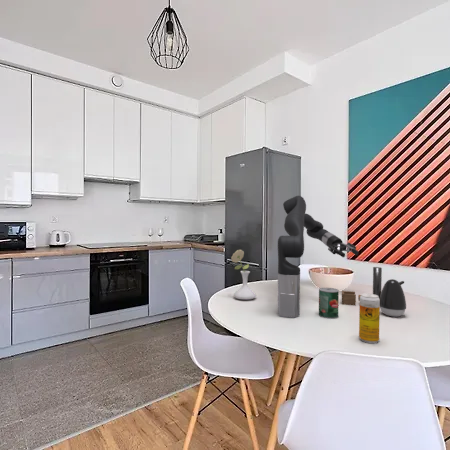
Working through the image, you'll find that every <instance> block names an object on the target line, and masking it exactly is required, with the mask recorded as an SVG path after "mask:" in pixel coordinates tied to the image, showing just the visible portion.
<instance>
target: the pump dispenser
mask: <svg viewBox="0 0 450 450" xmlns="http://www.w3.org/2000/svg"><path fill="white" fill-rule="evenodd" d="M403 284H405V281H404V280H402V281H398V280H397V279H394V278H393V279H392V278H391V279H388V280H387V281H386V282H385V283H384V285H383V287H382V288H381V295H380V312H382V313H383V314H385V315H386V316H388V317H393V318H398V317H401V316H403V315H404V314H405V311H406V309H407V301H406V295H405V292H404V289H403V287H402V285H403Z"/></svg>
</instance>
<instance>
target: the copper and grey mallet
mask: <svg viewBox="0 0 450 450" xmlns="http://www.w3.org/2000/svg"><path fill="white" fill-rule="evenodd" d="M382 269H383V267H380V266H373V267H372V294H374V295H377V296H379V299H380V295H381V292H382V281H383V280H382V277H383V276H382V275H383V274H382ZM360 296H361V294H358V298H357V299H358V302H360Z"/></svg>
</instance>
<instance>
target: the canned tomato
mask: <svg viewBox="0 0 450 450" xmlns="http://www.w3.org/2000/svg"><path fill="white" fill-rule="evenodd" d="M339 292H340V291H339V289H338V288H333V287H319V289H318V316H319V317H321V318H323V319H330V320H331V319H332V320H334V319H335V320H336V319H338V318H339V305H340V303H339V300H340V299H339V294H340V293H339Z"/></svg>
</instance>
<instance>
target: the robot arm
mask: <svg viewBox="0 0 450 450" xmlns="http://www.w3.org/2000/svg"><path fill="white" fill-rule="evenodd" d="M282 206H283V210H284V211H285V213H286V214H287V215H286V216H285V217H284V218H285V219H284V225H283V226H284V231H285V232H286V233H287V234H288V235H280V236H279V237H278V239H277V259H278V261H277V313H276V314H277V315H279V317H283V318H294V319H296V318H298V317H300V313H301V305H300V304H301V301H300V300H301V268H300V267H299V266H297V265H295V264H293V263H291V262H290V261H288V260H287V259H286V258H289V259H290V258H291V259H292V258H293V259H298V258H302V257H303V256H304V251H305V239H304V238H305V237H304V233H306V234H307V236H308V237H310V238H312V239H315V240H319V241H320V242H321V243H323V244H324V245H325V246H326V247H327V250H328V251H329V252H330V253H332V255H338V256H341V257H342V258H345V257H346V253H344V252H347V253H348V252H350V253H352V254H353V255H355V256H358V255H359V250H357V246H355V245H354V244H353V243H350V242H347V243H344V242H343V240H342V239H341V238H340V237H338V235H337V236H336V235H335V234H334V233H332V232H330V231H328V230H327V229H325V228H324V225H323V223H321V221H318V220H315V219H314V217H313V216H312V215H311V214H309V213H306V210H307V204H306V201H305V199H304V197H303V196H301V195H296V196H295V195H294V196H293V197H291V198H288V199H286V200H285V201H284V202H283V205H282ZM305 229H306V232H304V230H305Z"/></svg>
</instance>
